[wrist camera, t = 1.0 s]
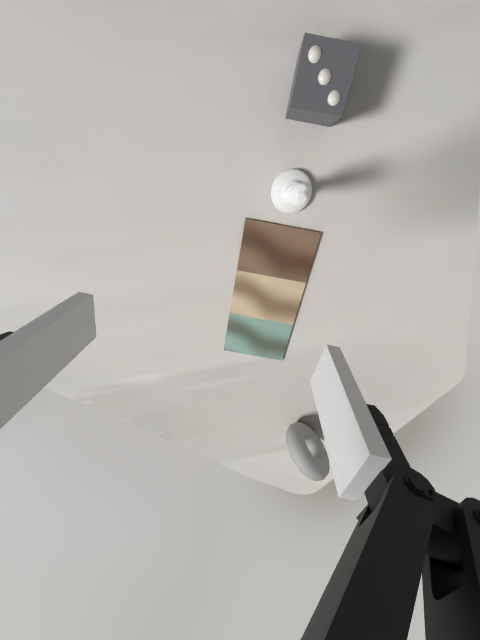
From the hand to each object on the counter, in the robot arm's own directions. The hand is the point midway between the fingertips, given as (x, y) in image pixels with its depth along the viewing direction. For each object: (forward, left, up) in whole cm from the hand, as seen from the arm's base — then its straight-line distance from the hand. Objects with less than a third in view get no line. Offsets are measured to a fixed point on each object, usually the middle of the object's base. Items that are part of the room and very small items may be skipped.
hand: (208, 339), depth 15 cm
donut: (+32, +18, -24) cm, 44 cm away
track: (+7, +5, -24) cm, 25 cm away
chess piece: (-8, +5, -24) cm, 26 cm away
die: (-17, +5, -24) cm, 30 cm away
